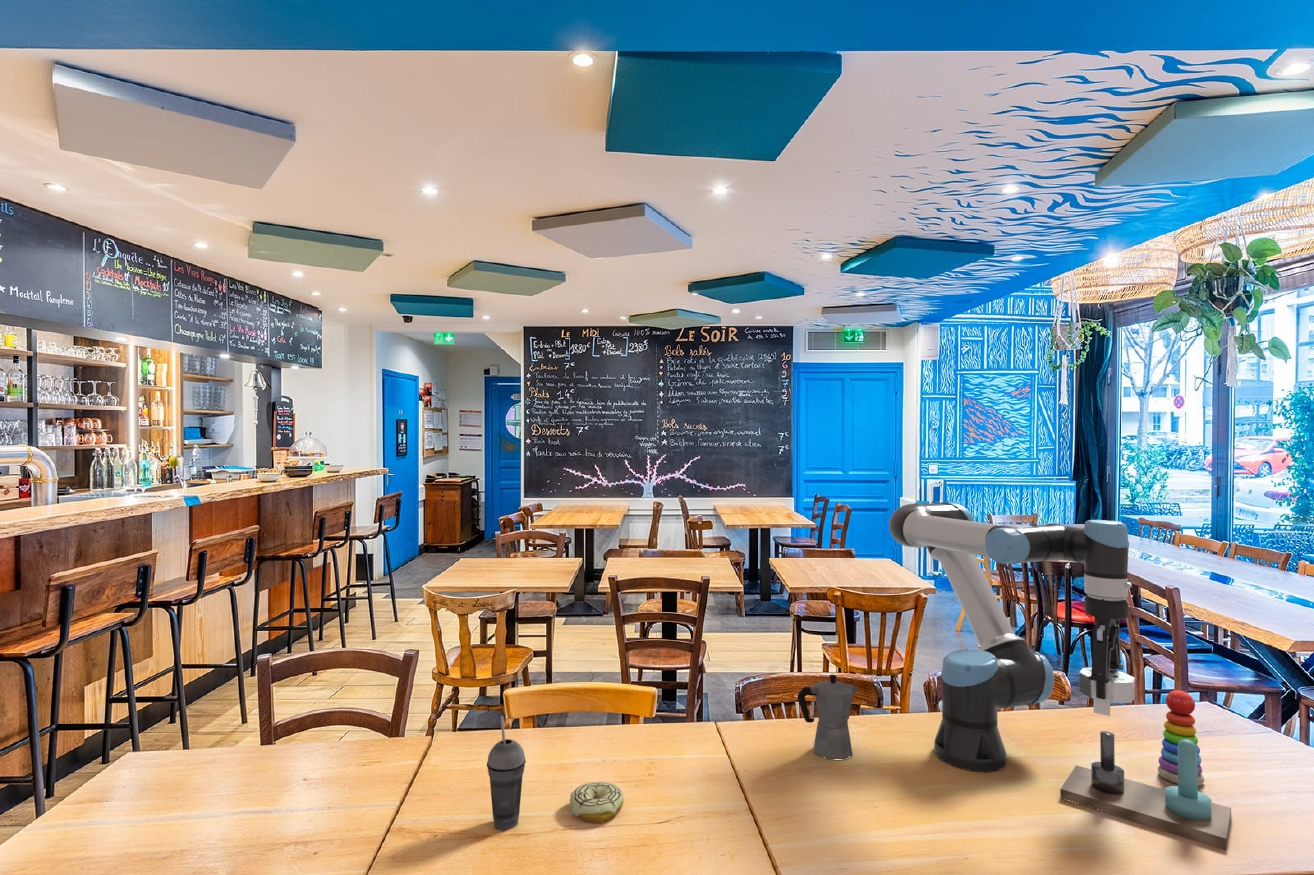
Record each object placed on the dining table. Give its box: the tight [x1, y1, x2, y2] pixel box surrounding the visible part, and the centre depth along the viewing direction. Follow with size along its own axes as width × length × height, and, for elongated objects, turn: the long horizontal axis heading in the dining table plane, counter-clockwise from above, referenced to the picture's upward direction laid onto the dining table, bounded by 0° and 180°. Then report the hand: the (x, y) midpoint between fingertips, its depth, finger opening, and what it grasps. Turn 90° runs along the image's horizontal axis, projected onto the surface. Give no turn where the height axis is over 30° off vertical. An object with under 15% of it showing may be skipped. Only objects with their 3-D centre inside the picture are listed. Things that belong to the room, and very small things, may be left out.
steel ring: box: [1078, 667, 1136, 704], centre depth 140 cm, size 9×9×4 cm
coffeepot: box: [797, 674, 860, 760], centre depth 160 cm, size 15×9×18 cm, turn 103°
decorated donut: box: [569, 781, 624, 824], centre depth 135 cm, size 10×11×4 cm
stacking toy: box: [1157, 690, 1205, 787], centre depth 148 cm, size 8×8×19 cm
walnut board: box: [1059, 764, 1232, 850], centre depth 136 cm, size 26×14×2 cm, turn 47°
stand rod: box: [1090, 730, 1125, 795], centre depth 140 cm, size 6×6×11 cm
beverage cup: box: [486, 715, 526, 831], centre depth 130 cm, size 7×7×20 cm
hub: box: [1164, 739, 1212, 821], centre depth 131 cm, size 7×7×14 cm
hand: (1106, 706), depth 140 cm, fingers closed on steel ring, 9 cm apart
